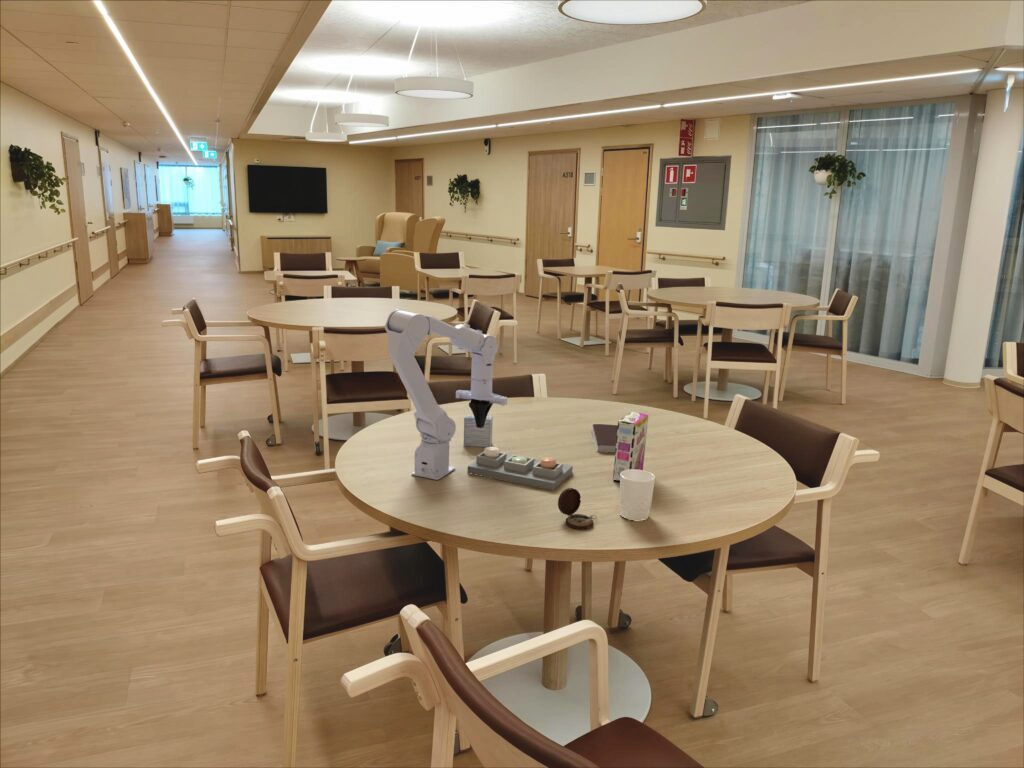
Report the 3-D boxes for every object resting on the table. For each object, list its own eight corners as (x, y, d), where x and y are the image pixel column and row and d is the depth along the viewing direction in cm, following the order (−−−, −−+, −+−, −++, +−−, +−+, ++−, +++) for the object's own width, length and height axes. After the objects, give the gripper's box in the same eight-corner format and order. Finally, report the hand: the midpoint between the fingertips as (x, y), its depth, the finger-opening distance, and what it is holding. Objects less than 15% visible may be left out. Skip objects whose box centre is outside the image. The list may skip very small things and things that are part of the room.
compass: (577, 532, 164) (579, 501, 162) (555, 519, 170) (557, 489, 168) (605, 525, 168) (607, 494, 166) (582, 512, 174) (584, 483, 173)
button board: (553, 490, 186) (554, 475, 186) (467, 473, 196) (467, 458, 195) (572, 473, 199) (573, 458, 198) (490, 457, 208) (491, 443, 207)
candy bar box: (630, 485, 192) (635, 424, 188) (612, 481, 194) (616, 420, 190) (644, 472, 202) (649, 413, 198) (626, 468, 204) (631, 410, 200)
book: (631, 435, 235) (632, 425, 234) (639, 455, 216) (640, 445, 215) (591, 433, 235) (591, 423, 234) (596, 454, 216) (597, 443, 215)
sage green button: (523, 470, 193) (523, 462, 193) (508, 467, 195) (509, 460, 194) (529, 465, 197) (529, 458, 196) (515, 462, 198) (515, 455, 198)
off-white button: (495, 460, 196) (495, 452, 196) (481, 457, 198) (481, 450, 197) (501, 455, 200) (501, 448, 199) (488, 453, 201) (488, 445, 201)
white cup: (647, 509, 178) (651, 469, 175) (654, 523, 170) (658, 482, 167) (614, 508, 177) (617, 468, 175) (620, 522, 170) (623, 481, 167)
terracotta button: (552, 470, 190) (552, 463, 190) (537, 468, 192) (538, 460, 191) (557, 466, 194) (558, 458, 193) (543, 463, 195) (543, 456, 195)
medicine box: (492, 443, 220) (493, 415, 218) (490, 448, 216) (491, 419, 214) (465, 441, 221) (466, 413, 219) (463, 446, 217) (463, 417, 215)
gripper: (512, 378, 202) (510, 427, 205) (464, 372, 207) (463, 419, 210) (501, 384, 195) (499, 434, 199) (452, 377, 201) (451, 425, 204)
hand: (480, 426), depth 204 cm, fingers closed
